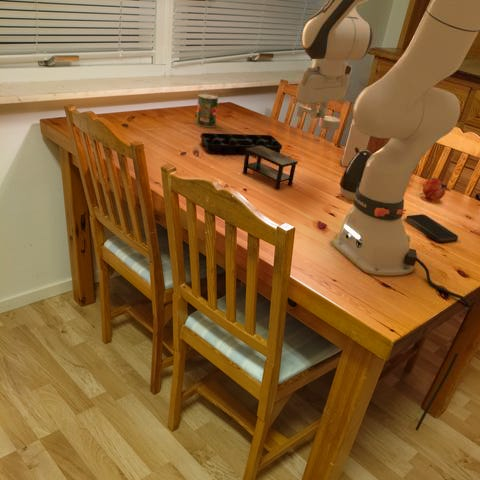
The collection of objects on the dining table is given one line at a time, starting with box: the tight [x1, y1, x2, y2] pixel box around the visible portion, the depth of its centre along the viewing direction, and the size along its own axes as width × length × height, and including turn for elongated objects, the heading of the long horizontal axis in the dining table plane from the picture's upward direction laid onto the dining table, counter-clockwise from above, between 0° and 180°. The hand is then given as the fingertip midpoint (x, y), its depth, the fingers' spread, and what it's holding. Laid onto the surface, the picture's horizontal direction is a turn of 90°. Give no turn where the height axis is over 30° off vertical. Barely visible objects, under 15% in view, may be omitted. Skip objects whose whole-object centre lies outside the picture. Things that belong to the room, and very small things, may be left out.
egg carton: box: [200, 132, 283, 156], centre depth 177 cm, size 18×30×4 cm, turn 120°
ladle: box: [296, 105, 341, 131], centre depth 145 cm, size 15×6×3 cm, turn 45°
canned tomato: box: [195, 92, 219, 128], centre depth 194 cm, size 8×8×11 cm
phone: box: [405, 213, 459, 244], centre depth 141 cm, size 8×1×15 cm
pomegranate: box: [421, 177, 448, 202], centre depth 160 cm, size 7×7×10 cm
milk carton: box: [341, 119, 371, 168], centre depth 174 cm, size 7×7×19 cm
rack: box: [242, 145, 298, 190], centre depth 155 cm, size 16×8×8 cm, turn 45°
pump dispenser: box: [339, 148, 373, 202], centre depth 149 cm, size 10×10×15 cm
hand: (316, 117), depth 145 cm, fingers closed on ladle
